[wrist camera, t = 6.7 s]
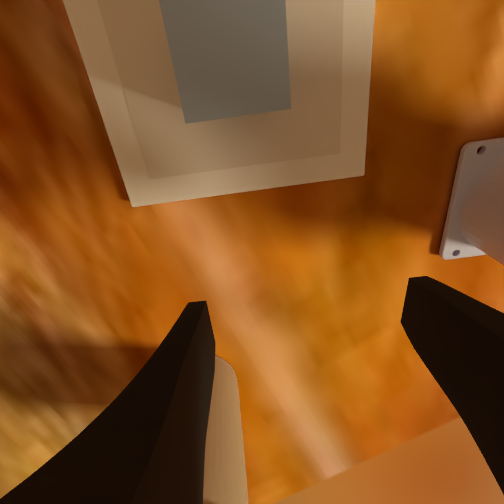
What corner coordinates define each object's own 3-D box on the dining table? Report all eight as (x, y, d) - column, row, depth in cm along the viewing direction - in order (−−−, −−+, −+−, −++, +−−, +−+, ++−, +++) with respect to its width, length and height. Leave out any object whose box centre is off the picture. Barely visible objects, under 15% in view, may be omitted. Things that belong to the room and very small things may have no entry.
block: (267, 6, 14) (283, -34, 9) (274, 103, 15) (291, 109, 11) (180, 18, 14) (155, -16, 9) (199, 114, 15) (185, 123, 11)
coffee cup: (121, 360, 25) (39, 557, 14) (226, 331, 24) (220, 519, 14) (168, 422, 29) (132, 607, 19) (258, 399, 28) (273, 581, 18)
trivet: (378, -186, 12) (388, -205, 11) (359, 172, 18) (364, 176, 18) (26, -133, 12) (11, -149, 11) (136, 202, 18) (131, 207, 18)
